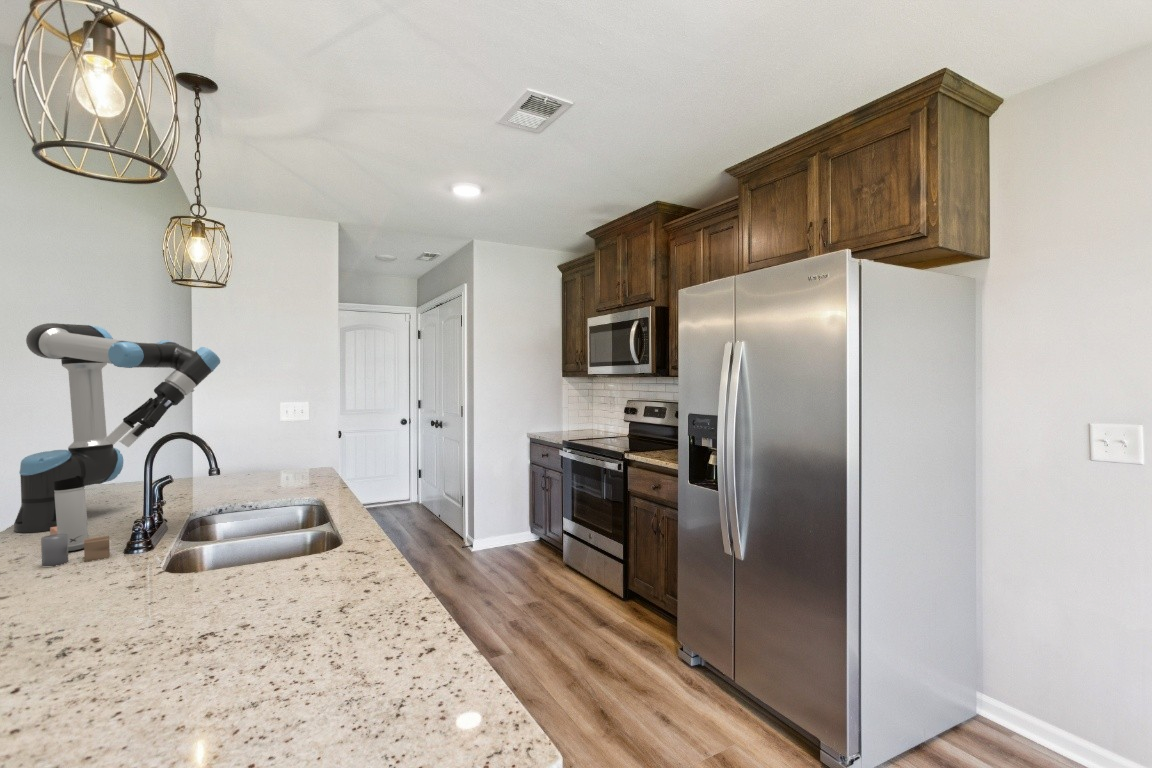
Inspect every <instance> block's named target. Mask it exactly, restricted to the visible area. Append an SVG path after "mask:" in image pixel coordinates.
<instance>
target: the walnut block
mask: <svg viewBox="0 0 1152 768" xmlns="http://www.w3.org/2000/svg"><path fill="white" fill-rule="evenodd" d="M110 550H111V549H110V535H109V534H108V535H100V536H95V537H88V538H87V539H84V548H83V551H84V554H83V555H84V563H87V562H86V561H88V562H93V561H92V560H94V561H99V560H98V559H100V560H105V559H104V558H106V559H110V558H109V557H111V556H110V554H111V552H110Z"/></svg>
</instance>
